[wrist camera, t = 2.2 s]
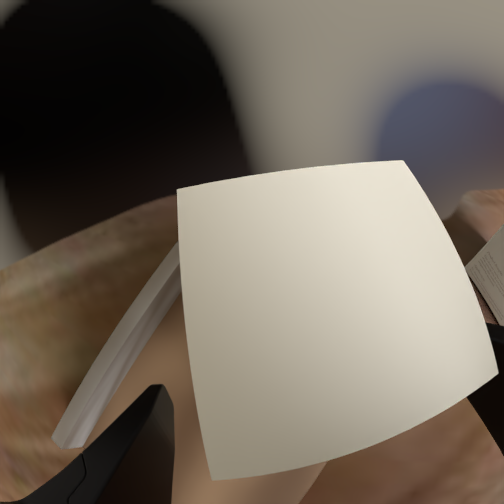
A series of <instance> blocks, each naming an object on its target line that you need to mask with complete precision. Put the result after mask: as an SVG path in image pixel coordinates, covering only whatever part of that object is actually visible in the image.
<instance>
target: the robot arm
mask: <svg viewBox="0 0 504 504" xmlns="http://www.w3.org/2000/svg"><path fill="white" fill-rule="evenodd" d="M485 323H486V322H485ZM486 327H487V330H488V333H489V337H490V340H491V344H492V348H493V351H494V355H495V359H496V364H497V368H498V374H497V375H496V376H494V377H493V378H492V379H491V380H489V381H488V382H487V383H485V384H484V385H482V386H481V387H480V388H478V389H477V390H475V391H474V392H472V393H471V394H470V395H468V396H467V399H468V400H469V401H470V403H471V404H472V406H473V407H474V409H475V410H476V412H477V413H478V415H479V416H480V418H481V419H482V421H483V422H484V424H485V426H486V427H487V429H488V430H489V432H490V434H491V435H492V437H493V438H494V440H495V442H496V443H497V445H498V447H499V449H500V450H501V452H502V454H503V456H504V326H501V325H496V324H491V323H486ZM82 453H83V454H82ZM82 453H80V454H79V455H78V456H77V457H76V458H75V459H74V460H73V461H72V462H71V463H70V464H69V465H68V466H66V467H65V468H64V469H63V470H62V471H61V472H59V473H58V474H57V475H56V476H54V477H53V478H52V479H50V480H49V481H48V482H46V483H45V484H44V485H42V486H41V487H39V488H38V489H37V490H35V491H34V492H32V493H31V494H30V495H28V496H27V497H25V498H23V499H21V500H18V501H13V502H0V504H171V502H172V485H173V471H174V458H175V430H174V405H173V402H172V400H171V398H170V396H169V394H168V391H167V389H166V387H165V386H164V385H163V384H152V385H150V386H148V387H147V388H146V389H145V390H144V391H143V392H142V393H141V394H140V395H139V396H138V397H137V398H136V399H135V400H134V401H133V402H132V403H131V404H130V405H129V406H128V407H127V408H126V409H125V410H124V411H123V412H122V413H121V414H120V415H119V416H118V417H117V418H116V419H115V420H114V421H113V422H112V423H111V424H110V425H109V426H108V427H107V428H106V429H105V430H104V431H103V432H102V433H101V434H100V435H99V436H98V437H97V438H96V439H95V440H94V441H93V442H92V443H91V444H90V445H89V446H88V447H87V448H86V449H85V450H84V451H83V452H82Z"/></svg>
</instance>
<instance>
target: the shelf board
mask: <svg viewBox="0 0 504 504" xmlns="http://www.w3.org/2000/svg"><path fill="white" fill-rule="evenodd" d="M152 384H163V385H164V386H165V387H166V389H167V391H168V394H169V396H170V398H171V400H172V402H173V405H174V430H175V458H174V471H173V485H172V502H171V504H299V502H300V501H301V499H302V498H303V497H304V495H305V494H306V493H307V491H308V490H309V488H310V487H311V486H312V484H313V483H314V481H315V480H316V478H317V477H318V475H319V474H320V472H321V471H322V469H323V467H324V466H325V464H326V463H327V461H325V462H321V463H317V464H314V465H310V466H306V467H301V468H297V469H293V470H288V471H283V472H278V473H272V474H267V475H260V476H254V477H246V478H237V479H227V480H214V481H212V480H211V475H210V471H209V467H208V462H207V458H206V453H205V448H204V444H203V439H202V434H201V428H200V423H199V418H198V412H197V406H196V400H195V394H194V388H193V381H192V375H191V368H190V360H189V353H188V345H187V336H186V327H185V318H184V308H183V297H182V285H181V271H180V256H179V240H178V241H177V243H176V244H175V245H174V247H173V248H172V249H171V251H170V252H169V253H168V255H167V256H166V257H165V259H164V260H163V261H162V263H161V264H160V265H159V267H158V268H157V269H156V271H155V272H154V273H153V275H152V276H151V278H150V279H149V280H148V282H147V283H146V285H145V286H144V287H143V289H142V290H141V292H140V293H139V294H138V296H137V297H136V299H135V300H134V302H133V303H132V305H131V306H130V307H129V309H128V310H127V312H126V313H125V315H124V316H123V318H122V319H121V321H120V322H119V324H118V325H117V327H116V328H115V330H114V331H113V333H112V334H111V336H110V337H109V339H108V341H107V342H106V344H105V345H104V347H103V348H102V350H101V351H100V353H99V355H98V356H97V358H96V359H95V361H94V363H93V364H92V366H91V368H90V369H89V371H88V373H87V374H86V376H85V378H84V379H83V381H82V383H81V384H80V386H79V388H78V389H77V391H76V393H75V395H74V396H73V398H72V400H71V402H70V404H69V405H68V407H67V409H66V411H65V413H64V414H63V416H62V418H61V420H60V422H59V424H58V426H57V427H56V429H55V431H54V433H53V435H52V437H51V438H52V440H53V441H54V442H55V443H56V444H57V445H58V446H59V448H60V449H69V448H78V447H83V448H84V449H86V448H87V447H88V446H89V445H90V444H91V443H92V442H93V441H94V440H95V439H96V438H97V437H98V436H99V435H100V434H101V433H102V432H103V431H104V430H105V429H106V428H107V427H108V426H109V425H110V424H111V423H112V422H113V421H114V420H115V419H116V418H117V417H118V416H119V415H120V414H121V413H122V412H123V411H124V410H125V409H126V408H127V407H128V406H129V405H130V404H131V403H132V402H133V401H134V400H135V399H136V398H137V397H138V396H139V395H140V394H141V393H142V392H143V391H144V390H145V389H146V388H147V387H148V386H150V385H152Z"/></svg>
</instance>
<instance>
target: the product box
mask: <svg viewBox="0 0 504 504" xmlns="http://www.w3.org/2000/svg"><path fill="white" fill-rule="evenodd" d="M177 209H178V237H179V256H180V271H181V285H182V297H183V308H184V318H185V327H186V336H187V345H188V353H189V360H190V368H191V375H192V381H193V388H194V394H195V400H196V406H197V412H198V418H199V423H200V428H201V434H202V439H203V444H204V448H205V453H206V458H207V462H208V467H209V471H210V475H211V480H212V481H214V480H227V479H237V478H246V477H254V476H260V475H267V474H272V473H278V472H283V471H288V470H293V469H297V468H301V467H306V466H310V465H314V464H317V463H321V462H325V461H328V460H331V459H335V458H338V457H341V456H344V455H347V454H350V453H353V452H356V451H359V450H361V449H364V448H367V447H369V446H372V445H375V444H377V443H380V442H382V441H384V440H387V439H389V438H391V437H394V436H396V435H398V434H400V433H402V432H404V431H407V430H409V429H411V428H413V427H415V426H417V425H419V424H421V423H423V422H424V421H426V420H428V419H430V418H432V417H434V416H435V415H437V414H439V413H441V412H442V411H444V410H446V409H448V408H449V407H451V406H452V405H454V404H456V403H457V402H459V401H460V400H462V399H464V398H465V397H467V396H468V395H470V394H471V393H472V392H474V391H475V390H477V389H478V388H480V387H481V386H482V385H484V384H485V383H487V382H488V381H489V380H491V379H492V378H493V377H494V376H496V375H497V374H498V368H497V364H496V359H495V355H494V351H493V348H492V344H491V340H490V337H489V333H488V330H487V327H486V323H485V320H484V317H483V314H482V311H481V309H480V306H479V303H478V300H477V297H476V295H475V292H474V290H473V287H472V285H471V282H470V280H469V277H468V275H467V273H466V270H465V268H464V266H463V264H462V261H461V259H460V257H459V255H458V253H457V251H456V249H455V247H454V245H453V243H452V241H451V239H450V237H449V235H448V233H447V231H446V229H445V227H444V225H443V223H442V222H441V220H440V218H439V216H438V214H437V213H436V211H435V209H434V207H433V206H432V204H431V203H430V201H429V199H428V198H427V196H426V194H425V192H424V191H423V189H422V188H421V186H420V185H419V183H418V181H417V180H416V178H415V177H414V175H413V174H412V172H411V171H410V170H409V168H408V167H407V165H406V164H405V162H404V161H402V160H399V161H381V162H380V161H379V162H364V163H352V164H340V165H331V166H320V167H312V168H303V169H294V170H286V171H279V172H272V173H265V174H259V175H252V176H246V177H240V178H234V179H228V180H222V181H218V182H211V183H206V184H201V185H196V186H191V187H186V188H181V189H177Z"/></svg>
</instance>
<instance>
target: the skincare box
mask: <svg viewBox="0 0 504 504" xmlns="http://www.w3.org/2000/svg"><path fill="white" fill-rule="evenodd" d="M465 270H466V272H467V273H468V275H469V276H470V277H471V279H472V280H473V282H474V283H475V285H476V286H477V288H478V289H479V291H480V292H481V294H482V296H483V297H484V299H485V300H486V302H487V304H488V305H489V307H490V309H491V310H492V312H493V314H494V316H495V317H496V319H497V321H498V323H499V324H500V325H501V326H504V224H503V225H502V226H501V228H500V229H499V230H498V231H497V232H496V233H495V235H494V236H493V237H492V238H491V239H490V240H489V241H488V242H487V243H486V245H485V246H484V247H483V248H482V249H481V250H480V251H479V252H478V253H477V254H476V255H475V257H474V258H473V259H472V260H471V261H470V262H469V263H468V264H467V265H466V266H465Z"/></svg>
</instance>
